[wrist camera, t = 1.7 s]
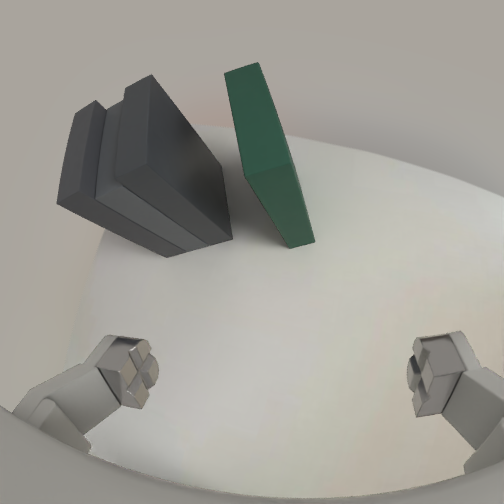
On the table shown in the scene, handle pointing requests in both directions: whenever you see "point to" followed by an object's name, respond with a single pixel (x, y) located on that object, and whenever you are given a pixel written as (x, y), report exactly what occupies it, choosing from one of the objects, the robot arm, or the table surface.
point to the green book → (267, 154)
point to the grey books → (145, 174)
